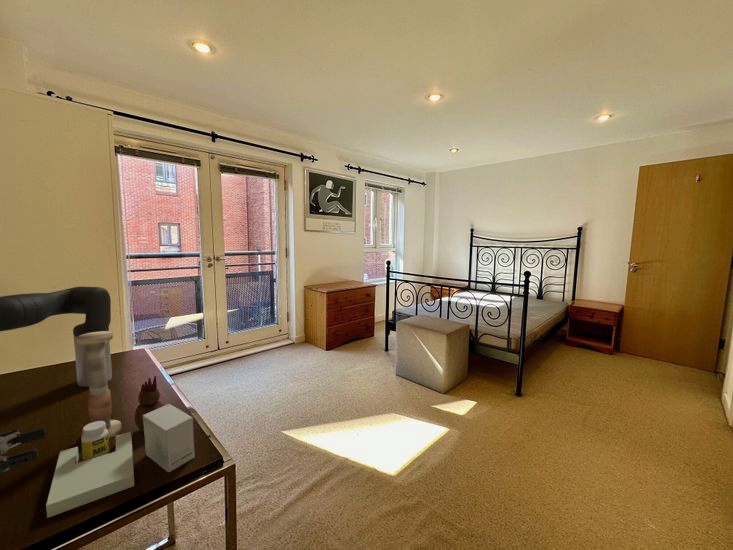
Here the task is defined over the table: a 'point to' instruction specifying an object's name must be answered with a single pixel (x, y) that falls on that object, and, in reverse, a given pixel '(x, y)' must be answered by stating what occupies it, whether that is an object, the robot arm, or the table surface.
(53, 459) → the table surface
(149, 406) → the wooden figurine
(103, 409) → the bobbin post
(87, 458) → the supplement bottle
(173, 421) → the skincare box
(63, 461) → the notched board
